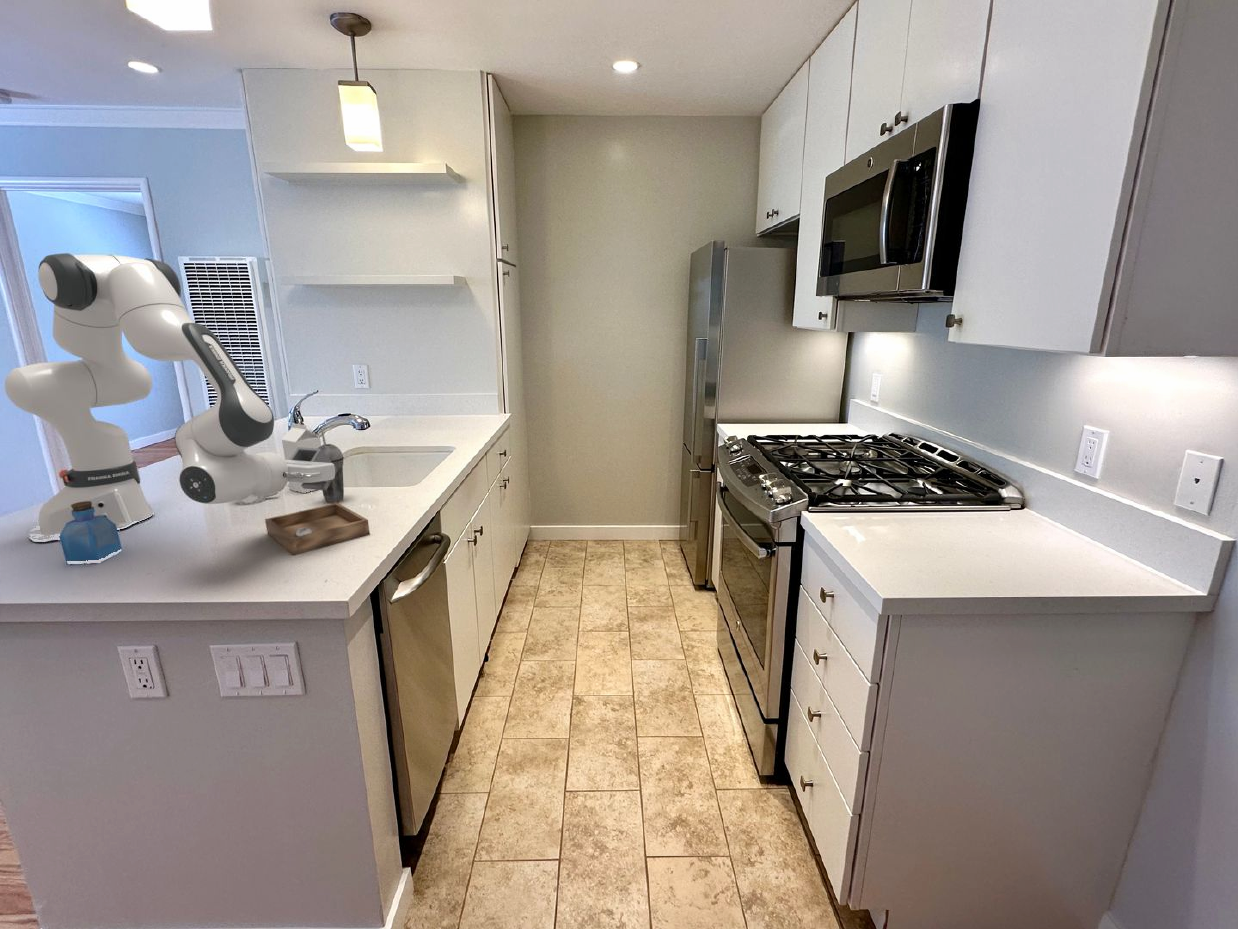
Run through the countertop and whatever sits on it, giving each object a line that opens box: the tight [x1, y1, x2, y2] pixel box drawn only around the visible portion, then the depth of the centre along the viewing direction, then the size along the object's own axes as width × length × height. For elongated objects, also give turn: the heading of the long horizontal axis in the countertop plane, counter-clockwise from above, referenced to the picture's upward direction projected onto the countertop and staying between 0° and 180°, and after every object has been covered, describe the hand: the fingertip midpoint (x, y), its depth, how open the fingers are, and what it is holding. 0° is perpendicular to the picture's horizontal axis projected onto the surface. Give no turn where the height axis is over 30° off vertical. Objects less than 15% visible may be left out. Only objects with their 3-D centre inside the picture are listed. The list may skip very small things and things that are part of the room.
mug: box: [236, 492, 279, 506], centre depth 156 cm, size 10×7×7 cm
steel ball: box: [295, 528, 313, 537], centre depth 123 cm, size 4×4×4 cm
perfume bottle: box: [59, 501, 123, 562], centre depth 118 cm, size 6×6×12 cm
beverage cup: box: [318, 428, 345, 504], centre depth 153 cm, size 7×7×20 cm
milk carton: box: [281, 422, 322, 494], centre depth 164 cm, size 7×7×19 cm
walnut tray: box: [264, 502, 371, 556], centre depth 131 cm, size 16×18×4 cm
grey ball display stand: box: [290, 447, 338, 491], centre depth 133 cm, size 6×6×8 cm
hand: (312, 465), depth 133 cm, fingers closed on grey ball display stand, 6 cm apart
